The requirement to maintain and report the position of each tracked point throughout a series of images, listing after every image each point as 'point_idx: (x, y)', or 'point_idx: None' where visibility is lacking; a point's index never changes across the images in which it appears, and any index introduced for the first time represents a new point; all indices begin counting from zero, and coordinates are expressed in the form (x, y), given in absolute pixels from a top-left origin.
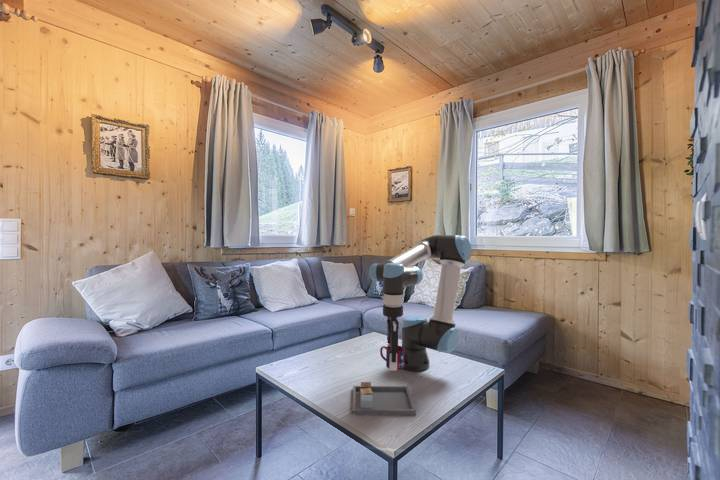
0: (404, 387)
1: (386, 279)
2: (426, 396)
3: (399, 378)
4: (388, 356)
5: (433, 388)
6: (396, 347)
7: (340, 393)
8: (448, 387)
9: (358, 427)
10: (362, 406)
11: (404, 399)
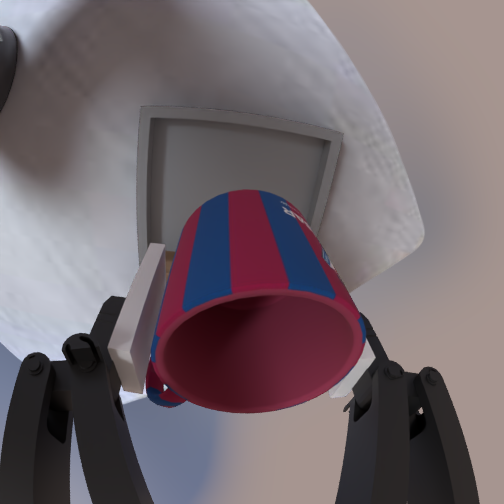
0: (150, 122)
1: None
2: (199, 40)
3: (51, 128)
4: (287, 361)
5: (141, 4)
6: (444, 415)
7: None
8: None
9: None
10: None
11: (223, 135)
